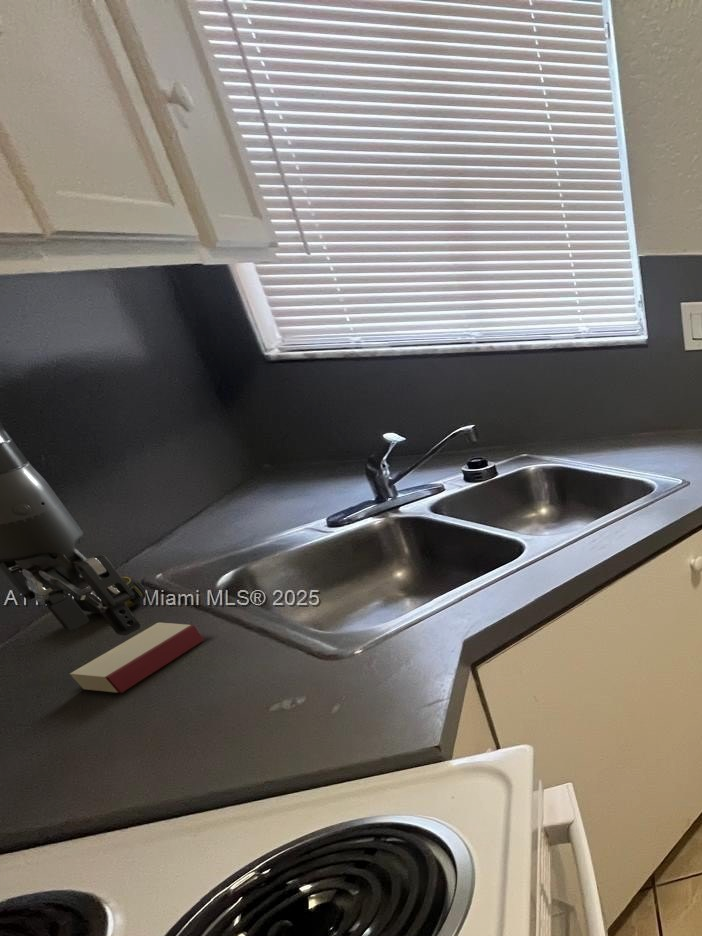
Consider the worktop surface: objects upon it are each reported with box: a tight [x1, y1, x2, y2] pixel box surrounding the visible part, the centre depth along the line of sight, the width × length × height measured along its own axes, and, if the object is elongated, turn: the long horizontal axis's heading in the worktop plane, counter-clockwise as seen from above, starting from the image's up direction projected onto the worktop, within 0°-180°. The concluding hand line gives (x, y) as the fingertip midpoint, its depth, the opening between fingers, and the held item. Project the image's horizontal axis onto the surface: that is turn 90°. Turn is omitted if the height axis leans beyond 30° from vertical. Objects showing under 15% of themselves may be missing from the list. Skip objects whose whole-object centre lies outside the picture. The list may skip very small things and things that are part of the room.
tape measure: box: [73, 576, 147, 615], centre depth 95 cm, size 7×7×4 cm
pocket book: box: [69, 622, 205, 694], centre depth 83 cm, size 11×6×3 cm, turn 170°
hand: (104, 628), depth 78 cm, fingers open, 8 cm apart
